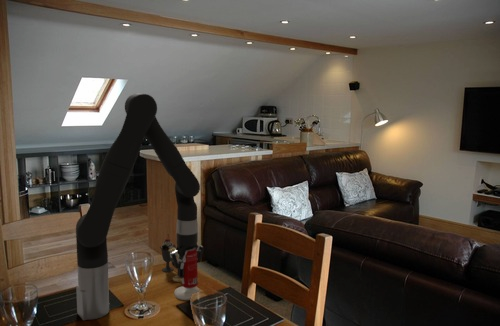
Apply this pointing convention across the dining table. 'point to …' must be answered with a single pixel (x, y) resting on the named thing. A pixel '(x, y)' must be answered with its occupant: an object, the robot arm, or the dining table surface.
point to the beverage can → (190, 269)
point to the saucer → (185, 293)
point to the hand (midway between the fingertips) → (186, 275)
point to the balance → (177, 278)
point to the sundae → (167, 254)
